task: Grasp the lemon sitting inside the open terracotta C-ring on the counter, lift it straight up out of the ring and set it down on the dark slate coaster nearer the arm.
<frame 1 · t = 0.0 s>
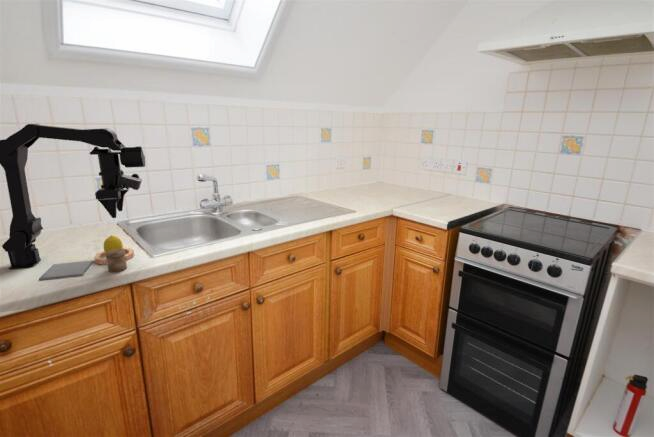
hand: (117, 214, 119), 15 cm above the countertop, fingers open, 9 cm apart
slate coaster: (67, 270, 110), on the countertop
c ring: (115, 257, 120), on the countertop
lemon: (115, 258, 120), resting in c ring
walnut salt pot: (118, 269, 111), on the countertop
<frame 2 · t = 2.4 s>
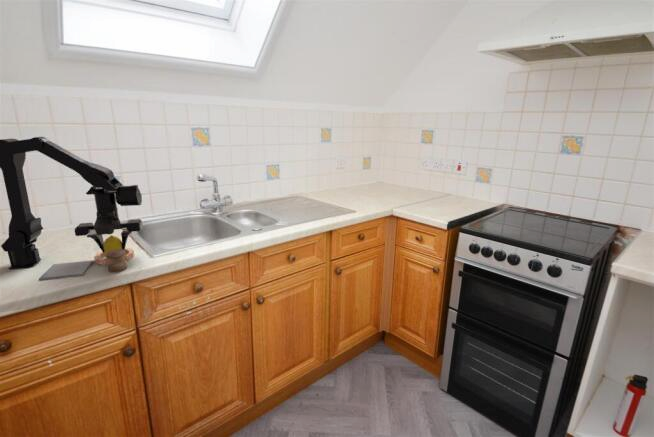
hand: (114, 251, 120), 2 cm above the countertop, fingers closed on lemon, 5 cm apart
lemon: (115, 258, 120), resting in c ring, touching gripper
everything else where it was.
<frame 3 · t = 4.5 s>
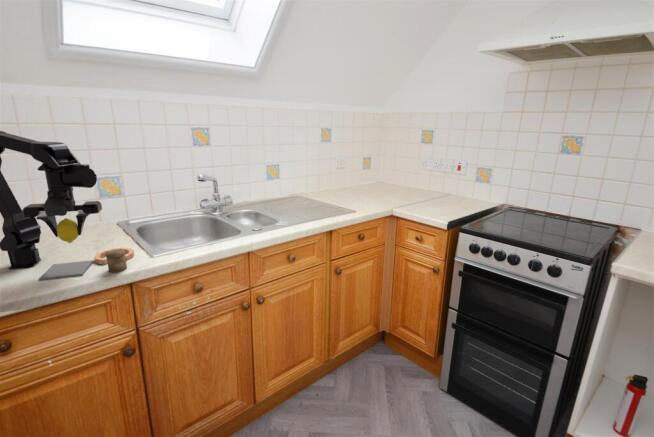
hand: (68, 235, 109), 11 cm above the countertop, fingers closed on lemon, 5 cm apart
lemon: (70, 243, 109), point 8 cm above the countertop, touching gripper
everything else where it was.
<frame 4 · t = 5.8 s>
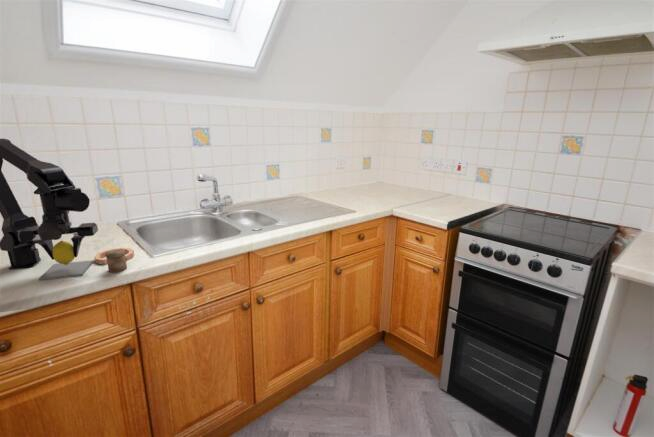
hand: (65, 258, 109), 4 cm above the countertop, fingers closed on lemon, 5 cm apart
lemon: (66, 265, 109), point 2 cm above the countertop, touching gripper
everything else where it was.
when the fingers open (4 cm above the countertop, at t = 6.5 s): lemon drops 1 cm, resting on slate coaster.
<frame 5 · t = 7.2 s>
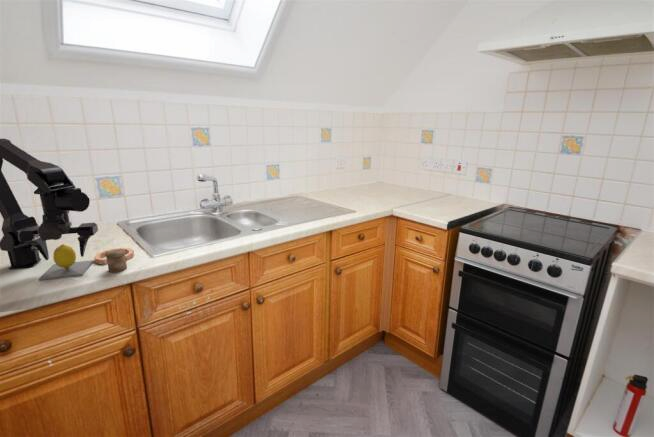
hand: (65, 258, 109), 4 cm above the countertop, fingers open, 9 cm apart
lemon: (67, 269, 110), resting on slate coaster
everything else where it was.
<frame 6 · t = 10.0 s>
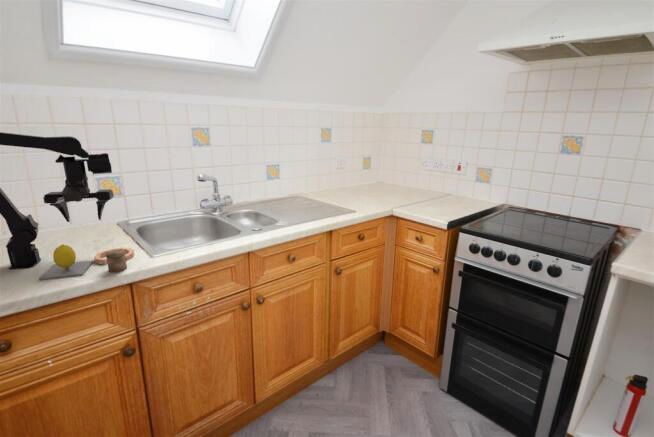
hand: (84, 220, 121), 12 cm above the countertop, fingers open, 9 cm apart
nothing on the countertop moved.
at the end: lemon inside the target area on the slate coaster (0.1 cm from its centre), point 0.4 cm above the slate coaster's base; the gripper is holding nothing; lemon moved 13.8 cm from its start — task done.
